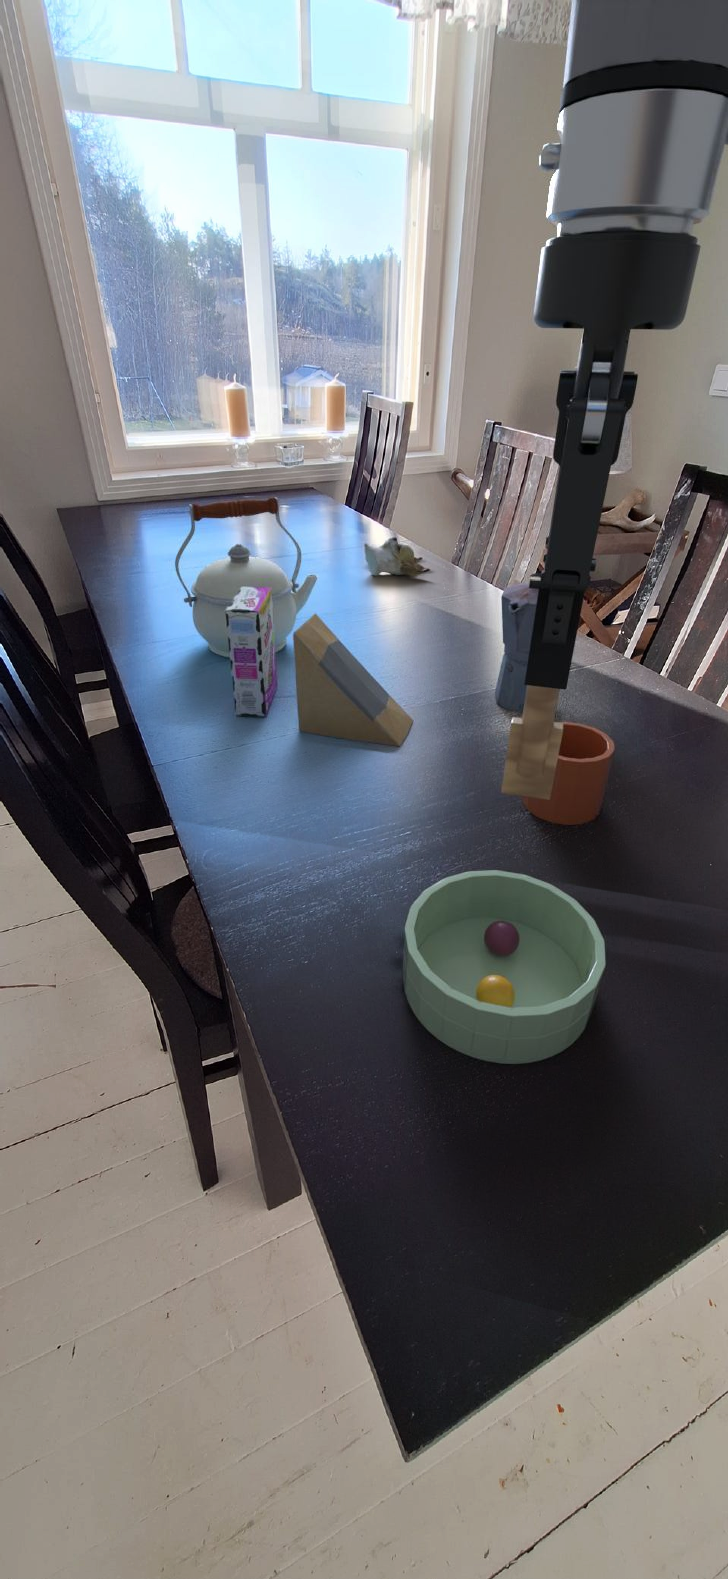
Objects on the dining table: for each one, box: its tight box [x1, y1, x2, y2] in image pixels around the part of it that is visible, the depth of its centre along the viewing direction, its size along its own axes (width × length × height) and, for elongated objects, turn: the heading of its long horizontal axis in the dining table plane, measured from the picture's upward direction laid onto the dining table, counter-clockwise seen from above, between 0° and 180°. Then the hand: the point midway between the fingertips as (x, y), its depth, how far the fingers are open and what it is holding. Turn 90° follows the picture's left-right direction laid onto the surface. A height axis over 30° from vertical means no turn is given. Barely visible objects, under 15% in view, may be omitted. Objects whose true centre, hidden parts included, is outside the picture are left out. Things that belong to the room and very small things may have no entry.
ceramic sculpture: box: [363, 536, 431, 577], centre depth 161 cm, size 11×9×15 cm
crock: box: [521, 721, 615, 826], centre depth 81 cm, size 9×9×10 cm
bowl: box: [401, 869, 607, 1065], centre depth 60 cm, size 17×17×6 cm
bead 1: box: [484, 921, 520, 956], centre depth 63 cm, size 3×3×3 cm
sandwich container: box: [292, 613, 414, 747], centre depth 97 cm, size 9×15×15 cm, turn 73°
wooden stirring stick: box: [500, 685, 563, 800], centre depth 46 cm, size 4×2×21 cm, turn 76°
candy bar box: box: [225, 587, 278, 718], centre depth 103 cm, size 11×5×16 cm, turn 177°
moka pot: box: [494, 572, 541, 713], centre depth 103 cm, size 10×15×20 cm, turn 145°
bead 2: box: [476, 975, 515, 1008], centre depth 58 cm, size 3×3×3 cm
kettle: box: [174, 496, 319, 659], centre depth 121 cm, size 25×18×25 cm
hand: (546, 675), depth 47 cm, fingers closed on wooden stirring stick, 2 cm apart
